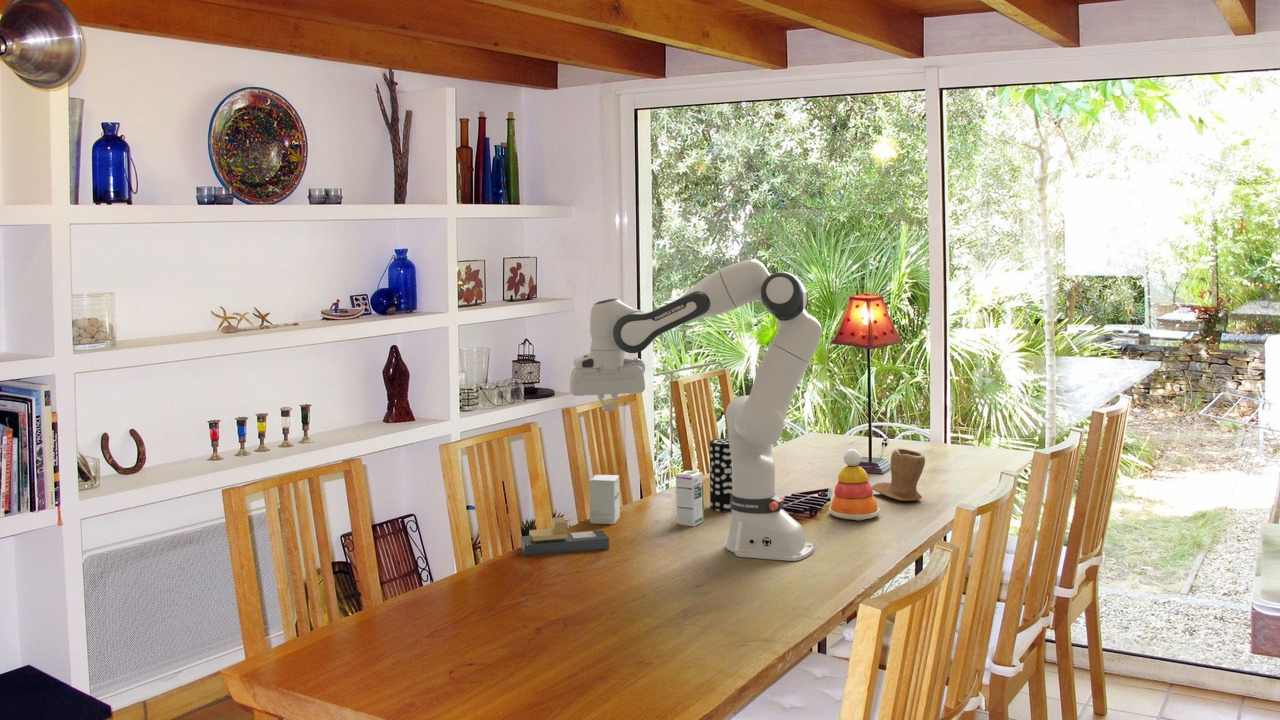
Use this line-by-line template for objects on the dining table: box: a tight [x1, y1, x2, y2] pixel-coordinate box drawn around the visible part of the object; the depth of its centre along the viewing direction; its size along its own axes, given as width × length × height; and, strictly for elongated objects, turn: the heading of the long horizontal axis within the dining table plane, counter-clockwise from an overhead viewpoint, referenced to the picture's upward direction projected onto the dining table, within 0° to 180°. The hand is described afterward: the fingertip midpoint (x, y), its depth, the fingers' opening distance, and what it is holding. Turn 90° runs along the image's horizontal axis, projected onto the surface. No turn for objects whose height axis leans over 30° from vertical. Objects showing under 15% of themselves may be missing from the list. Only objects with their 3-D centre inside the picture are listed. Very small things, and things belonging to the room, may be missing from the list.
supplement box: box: [589, 474, 621, 525], centre depth 314 cm, size 7×7×13 cm
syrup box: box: [675, 470, 705, 527], centre depth 310 cm, size 6×6×14 cm
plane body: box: [520, 529, 610, 557], centre depth 288 cm, size 22×8×3 cm, turn 104°
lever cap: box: [528, 516, 568, 541], centre depth 286 cm, size 9×6×4 cm, turn 104°
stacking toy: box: [828, 448, 880, 521], centre depth 314 cm, size 14×14×20 cm
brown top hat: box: [871, 447, 926, 502], centre depth 334 cm, size 15×12×15 cm
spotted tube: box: [709, 438, 732, 513], centre depth 325 cm, size 8×8×20 cm
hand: (608, 410), depth 297 cm, fingers closed
